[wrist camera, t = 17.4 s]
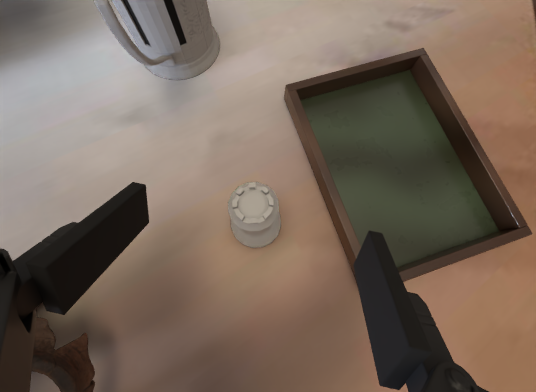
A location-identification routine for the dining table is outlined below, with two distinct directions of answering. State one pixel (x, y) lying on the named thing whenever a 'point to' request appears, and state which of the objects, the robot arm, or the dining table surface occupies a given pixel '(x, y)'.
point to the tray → (402, 164)
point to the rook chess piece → (254, 214)
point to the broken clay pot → (62, 360)
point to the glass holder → (165, 34)
